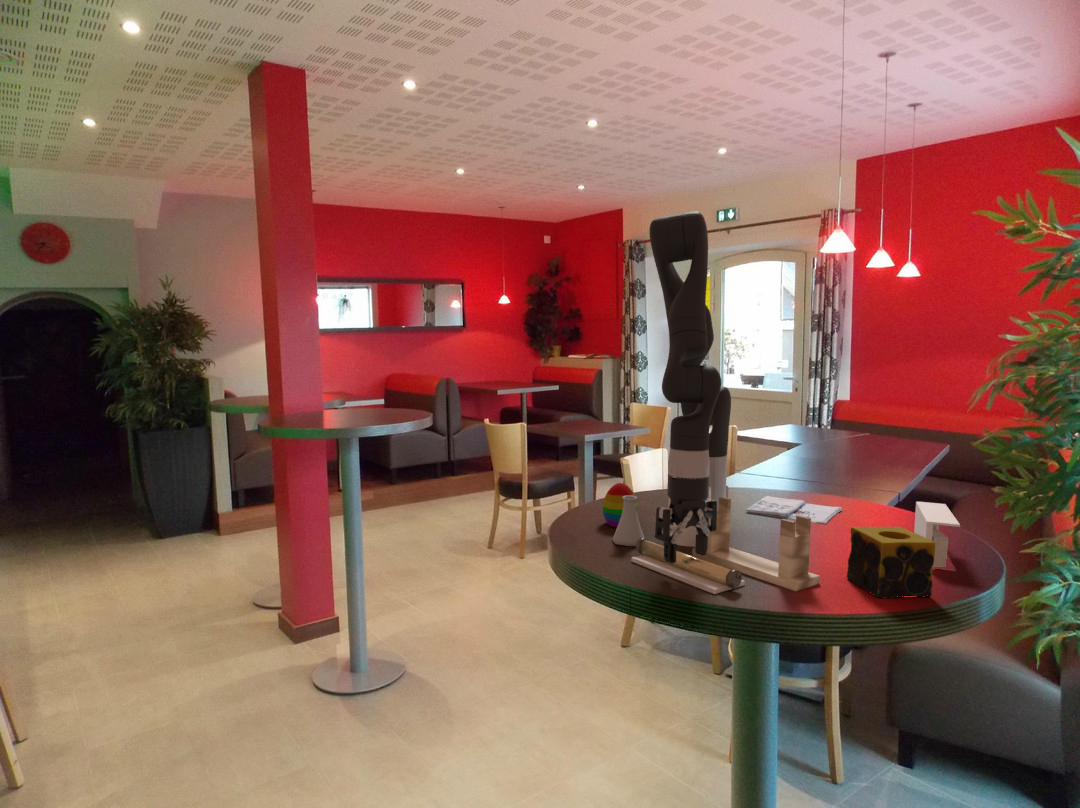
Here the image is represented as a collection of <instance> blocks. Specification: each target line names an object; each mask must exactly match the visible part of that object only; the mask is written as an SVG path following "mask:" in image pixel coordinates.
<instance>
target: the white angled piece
mask: <svg viewBox="0 0 1080 808" xmlns="http://www.w3.org/2000/svg"><path fill="white" fill-rule="evenodd" d="M951 511H952V510H950V509H949V507H948V506H947V504H946V503H939V502H938V503H937V502H928V501H927V502H926V501H915V511H914V512H915V513H914V514H915V515H914V528H913V529H914V531H913V533H916V534H918V535H920V536H922V537H924V538H927V539H929V540H931V541H933V542H935V557H934V563H933V567H946V559H947V553H948V549H949V538H948V537H947V536H946V535H945V534H943V533H942V532H941V531H940V530H939V526H946V527H947V526H949V527H957V528H961V524H960V523H959V521H958V520H957V517H955V516H954V514H953V512H951Z"/></svg>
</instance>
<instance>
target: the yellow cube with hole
mask: <svg viewBox="0 0 1080 808" xmlns="http://www.w3.org/2000/svg"><path fill="white" fill-rule="evenodd" d="M850 545H851V546H850V548H851V549H850V553H849V557H848V560H847V571H846V572H847V573H846V579H847V578H848V579H847V580H849V579H850V580H851V581H850V580H849V581H850V582H852V581H853V582H854V583H856V584H857V586H858V585H859V586H860V587H859V586H858V587H859V588H861V587H862V589H863V590H864V589H865V590H864V591H866V590H867V591H869V592H871V593H872V594H874V595H873V596H874V597H875V596H876V597H875V598H877V597H897V596H898V597H902V596H903V597H904V596H927V595H928V596H931V597H932V590H933V589H932V588H933V571H934V569H933V563H934V557H935V542H933V541H931V540H929V539H927V538H924V537H922V536H920V535H918V534H916V533H914V531H911V530H908V529H907V528H904V527H902V526H851V528H850ZM853 582H852V583H853ZM854 583H853V584H854ZM856 584H855V585H856ZM867 591H866V592H867ZM869 592H868V593H869ZM871 593H870V594H871ZM872 594H871V595H872Z"/></svg>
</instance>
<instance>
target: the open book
mask: <svg viewBox="0 0 1080 808" xmlns="http://www.w3.org/2000/svg"><path fill="white" fill-rule="evenodd" d="M842 510H843V507H841V506H829V505H827V506H826V505H821V504H814V503H806V501H805V500H804V499H803V500H802V499H792V498H791V499H790V498H785V497H784V498H781V497H776V496H770V495H766V496H764V497H762V498H761V499H760V500H758V501H756V502H755V503H754V504H752V505H750V506H749V507H748V508H746V509H745V512H746V513H747V514H754V515H762V516H767V517H774V518H781V519H787V520H791V521H796V516H799V515H800V516H804V517H808V518H811V523H814V524H820V525H826V524H828V523H829V521H830V520H832V518H834V517H835V516H836V515H838V514H839V512H840V511H841V512H843V511H842ZM797 511H800V512H799V513H795V512H797ZM841 512H840V513H841Z"/></svg>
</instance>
